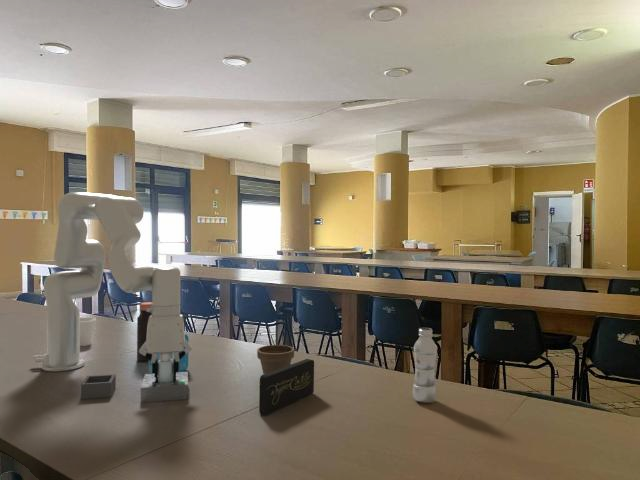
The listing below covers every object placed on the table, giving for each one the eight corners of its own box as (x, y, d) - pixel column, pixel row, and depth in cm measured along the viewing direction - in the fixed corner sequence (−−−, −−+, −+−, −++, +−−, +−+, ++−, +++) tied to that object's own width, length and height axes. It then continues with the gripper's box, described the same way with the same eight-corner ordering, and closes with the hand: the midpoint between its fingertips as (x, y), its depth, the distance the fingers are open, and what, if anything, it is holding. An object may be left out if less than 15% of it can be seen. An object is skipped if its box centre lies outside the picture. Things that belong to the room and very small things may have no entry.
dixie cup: (99, 343, 188) (100, 318, 188) (79, 348, 181) (79, 322, 181) (87, 340, 193) (87, 316, 193) (67, 344, 186) (67, 319, 185)
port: (140, 402, 126) (140, 385, 126) (144, 387, 138) (145, 372, 137) (187, 399, 129) (187, 382, 129) (187, 384, 141) (187, 369, 141)
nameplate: (264, 417, 118) (265, 377, 118) (259, 415, 119) (259, 375, 119) (313, 393, 135) (314, 359, 135) (308, 392, 136) (308, 358, 136)
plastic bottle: (437, 398, 132) (438, 327, 132) (434, 407, 126) (436, 332, 126) (414, 395, 135) (415, 325, 134) (410, 403, 128) (412, 330, 128)
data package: (156, 378, 146) (156, 339, 146) (148, 375, 149) (148, 337, 149) (188, 369, 156) (188, 333, 156) (180, 367, 159) (180, 331, 158)
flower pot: (248, 380, 145) (249, 348, 145) (276, 373, 154) (276, 342, 153) (273, 390, 138) (274, 355, 137) (301, 381, 146) (302, 348, 146)
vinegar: (160, 357, 170) (161, 302, 169) (152, 362, 163) (152, 305, 163) (142, 356, 171) (142, 301, 170) (133, 361, 164) (133, 304, 163)
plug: (157, 395, 131) (157, 352, 131) (158, 390, 135) (158, 348, 134) (172, 394, 132) (172, 351, 132) (173, 389, 136) (173, 347, 135)
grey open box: (80, 399, 128) (80, 384, 128) (86, 389, 135) (86, 375, 135) (111, 396, 130) (111, 382, 130) (115, 387, 137) (115, 374, 137)
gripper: (132, 314, 127) (132, 381, 127) (197, 312, 131) (196, 377, 132) (135, 309, 134) (135, 373, 135) (196, 307, 139) (196, 369, 139)
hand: (165, 374), depth 133 cm, fingers open, 4 cm apart
